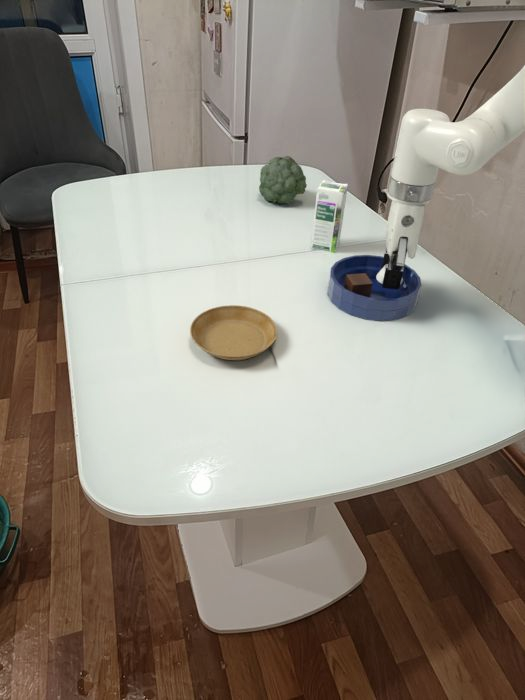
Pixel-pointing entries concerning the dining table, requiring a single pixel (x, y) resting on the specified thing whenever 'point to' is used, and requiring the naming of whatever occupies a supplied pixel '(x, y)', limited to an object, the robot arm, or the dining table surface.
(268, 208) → the dining table surface
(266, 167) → the vegetable
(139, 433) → the dining table surface
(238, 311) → the plant saucer
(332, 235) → the syrup box
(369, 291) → the walnut block
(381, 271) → the white jar
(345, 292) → the bowl
